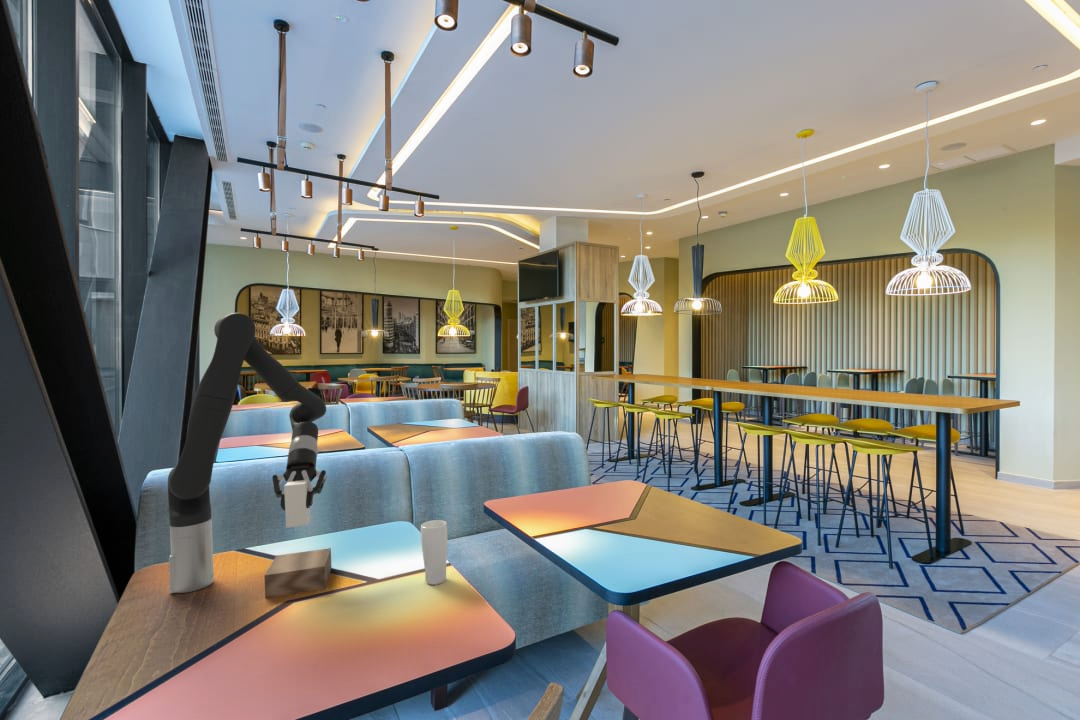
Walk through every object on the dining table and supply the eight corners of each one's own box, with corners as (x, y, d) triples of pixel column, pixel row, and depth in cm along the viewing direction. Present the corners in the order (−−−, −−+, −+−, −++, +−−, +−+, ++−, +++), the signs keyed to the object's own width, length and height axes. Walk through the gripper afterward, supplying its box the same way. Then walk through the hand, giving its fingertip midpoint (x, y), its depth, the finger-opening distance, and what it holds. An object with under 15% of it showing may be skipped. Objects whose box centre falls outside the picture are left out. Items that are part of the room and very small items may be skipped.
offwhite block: (286, 527, 131) (284, 485, 131) (290, 522, 136) (288, 481, 136) (306, 525, 132) (304, 483, 132) (310, 519, 137) (308, 479, 137)
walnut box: (265, 599, 125) (264, 575, 125) (277, 577, 138) (276, 555, 138) (325, 589, 129) (324, 566, 129) (331, 569, 142) (330, 548, 142)
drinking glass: (443, 587, 126) (440, 528, 126) (418, 586, 128) (416, 527, 128) (453, 576, 133) (450, 520, 133) (429, 575, 134) (427, 519, 134)
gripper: (272, 449, 139) (263, 503, 127) (327, 444, 143) (323, 497, 131) (277, 464, 144) (269, 518, 133) (331, 460, 148) (327, 511, 136)
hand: (296, 507), depth 132 cm, fingers closed on offwhite block, 5 cm apart
